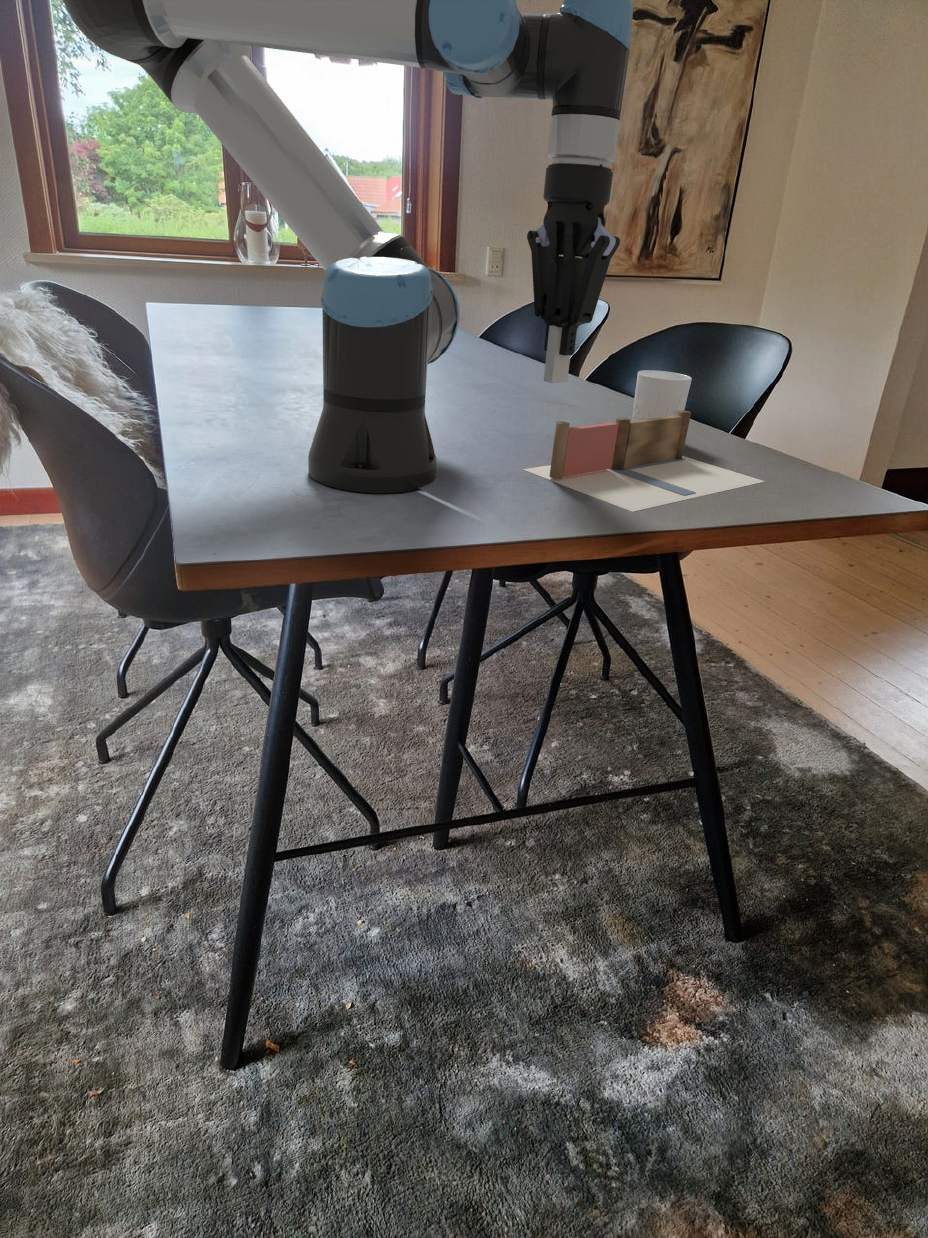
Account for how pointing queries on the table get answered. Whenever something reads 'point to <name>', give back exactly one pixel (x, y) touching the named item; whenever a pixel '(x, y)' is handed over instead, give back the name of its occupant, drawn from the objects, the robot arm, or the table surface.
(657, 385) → the white cup
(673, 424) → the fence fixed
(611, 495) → the board
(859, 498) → the table surface
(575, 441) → the fence gate
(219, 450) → the table surface
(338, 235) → the robot arm
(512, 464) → the table surface
